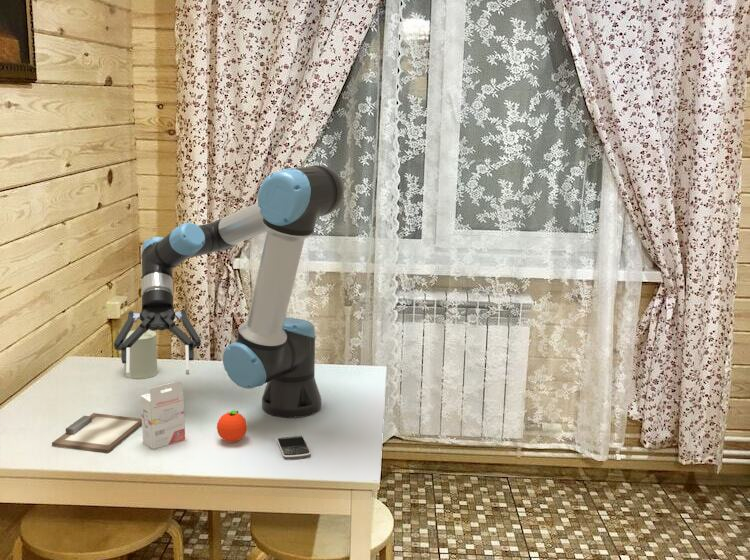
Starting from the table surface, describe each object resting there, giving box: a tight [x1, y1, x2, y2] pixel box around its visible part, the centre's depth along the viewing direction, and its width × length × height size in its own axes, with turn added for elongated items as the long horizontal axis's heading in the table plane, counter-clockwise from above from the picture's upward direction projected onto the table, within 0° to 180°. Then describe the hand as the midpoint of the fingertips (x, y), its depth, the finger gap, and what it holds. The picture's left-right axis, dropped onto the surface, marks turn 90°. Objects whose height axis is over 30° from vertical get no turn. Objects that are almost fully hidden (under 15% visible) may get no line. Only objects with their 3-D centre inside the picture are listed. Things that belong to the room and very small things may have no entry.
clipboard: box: [51, 412, 142, 454], centre depth 203 cm, size 14×18×2 cm
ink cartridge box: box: [140, 380, 186, 450], centre depth 198 cm, size 9×5×15 cm, turn 132°
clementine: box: [216, 410, 248, 443], centre depth 201 cm, size 8×7×7 cm
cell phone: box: [276, 435, 311, 460], centre depth 198 cm, size 6×11×1 cm, turn 16°
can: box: [123, 329, 159, 380], centre depth 242 cm, size 9×9×12 cm
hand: (158, 373), depth 204 cm, fingers open, 13 cm apart
